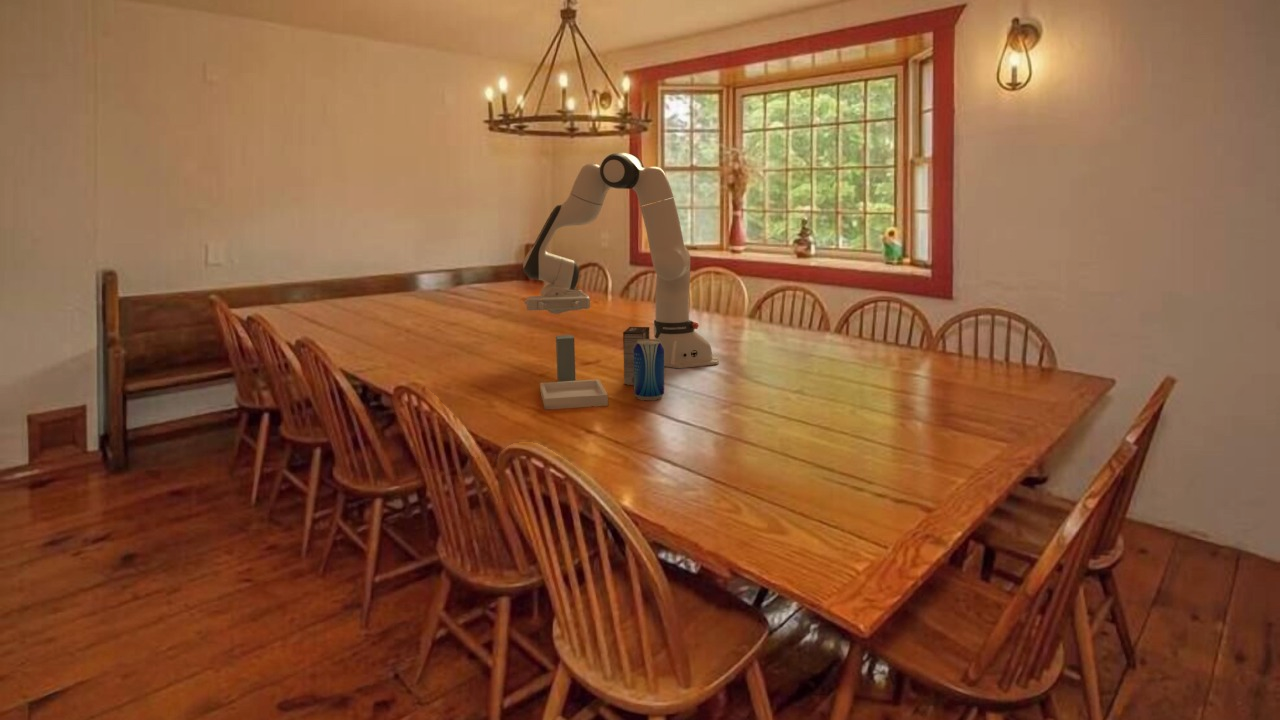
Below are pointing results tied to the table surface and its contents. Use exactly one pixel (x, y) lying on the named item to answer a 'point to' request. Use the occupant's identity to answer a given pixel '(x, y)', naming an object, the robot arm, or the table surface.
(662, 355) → the beer can
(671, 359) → the robot arm
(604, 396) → the bin
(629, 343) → the coffee box
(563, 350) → the slate block
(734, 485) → the table surface
